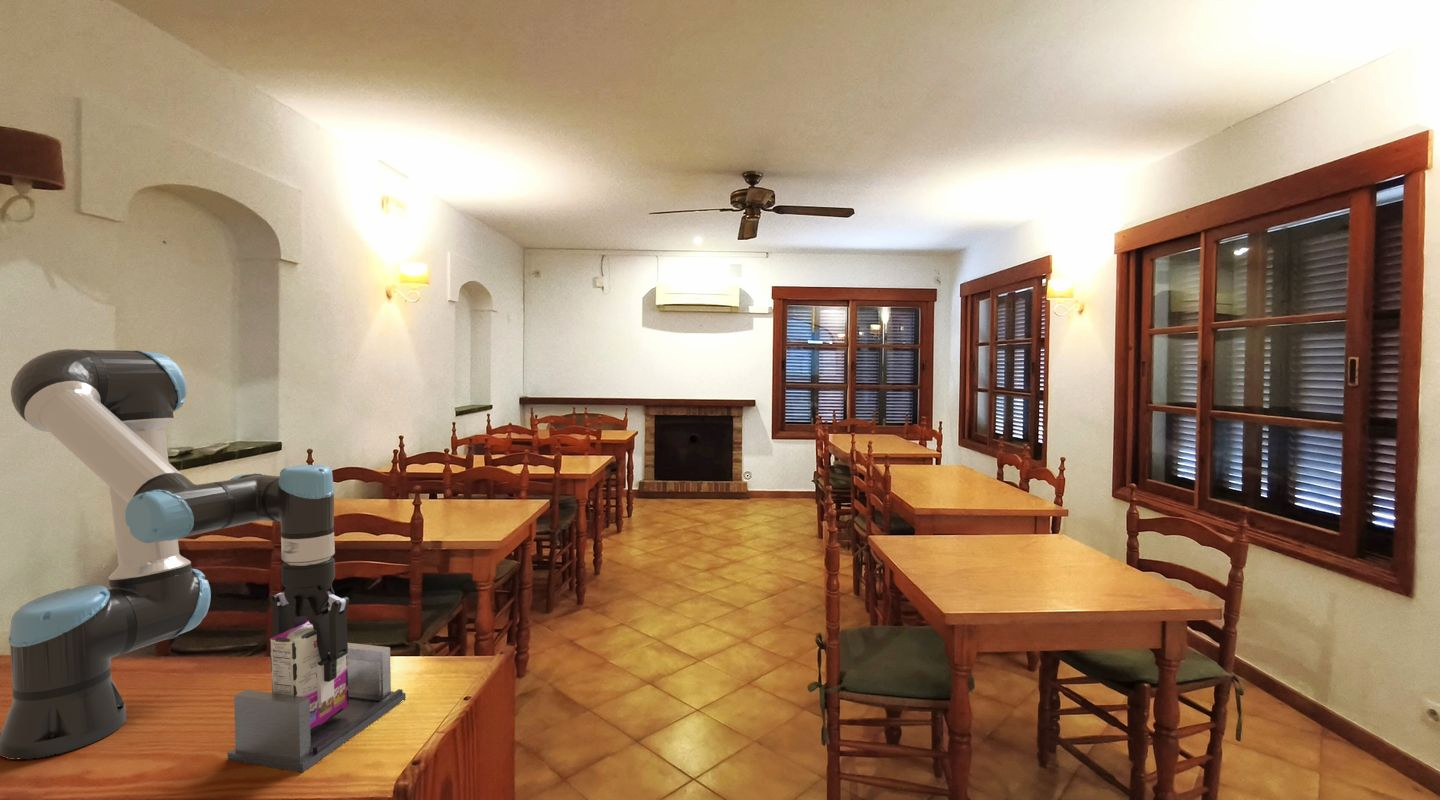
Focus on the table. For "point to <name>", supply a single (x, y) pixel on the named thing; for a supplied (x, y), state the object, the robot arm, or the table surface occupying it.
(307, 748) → the vise
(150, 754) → the table surface
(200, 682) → the table surface
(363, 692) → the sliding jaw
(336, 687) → the candy bar box
